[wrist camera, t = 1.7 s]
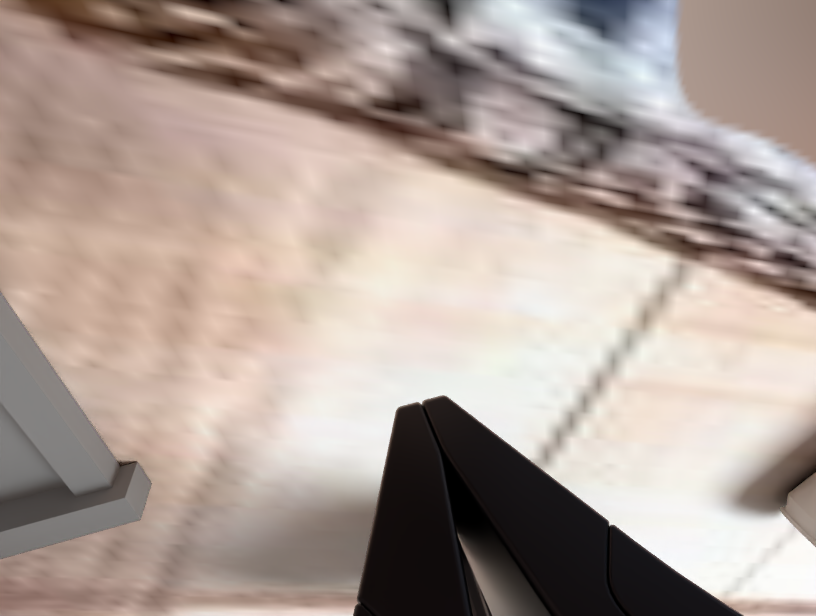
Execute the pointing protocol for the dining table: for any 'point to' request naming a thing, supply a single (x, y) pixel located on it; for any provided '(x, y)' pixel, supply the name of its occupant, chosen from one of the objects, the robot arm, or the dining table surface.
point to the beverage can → (803, 508)
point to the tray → (53, 455)
